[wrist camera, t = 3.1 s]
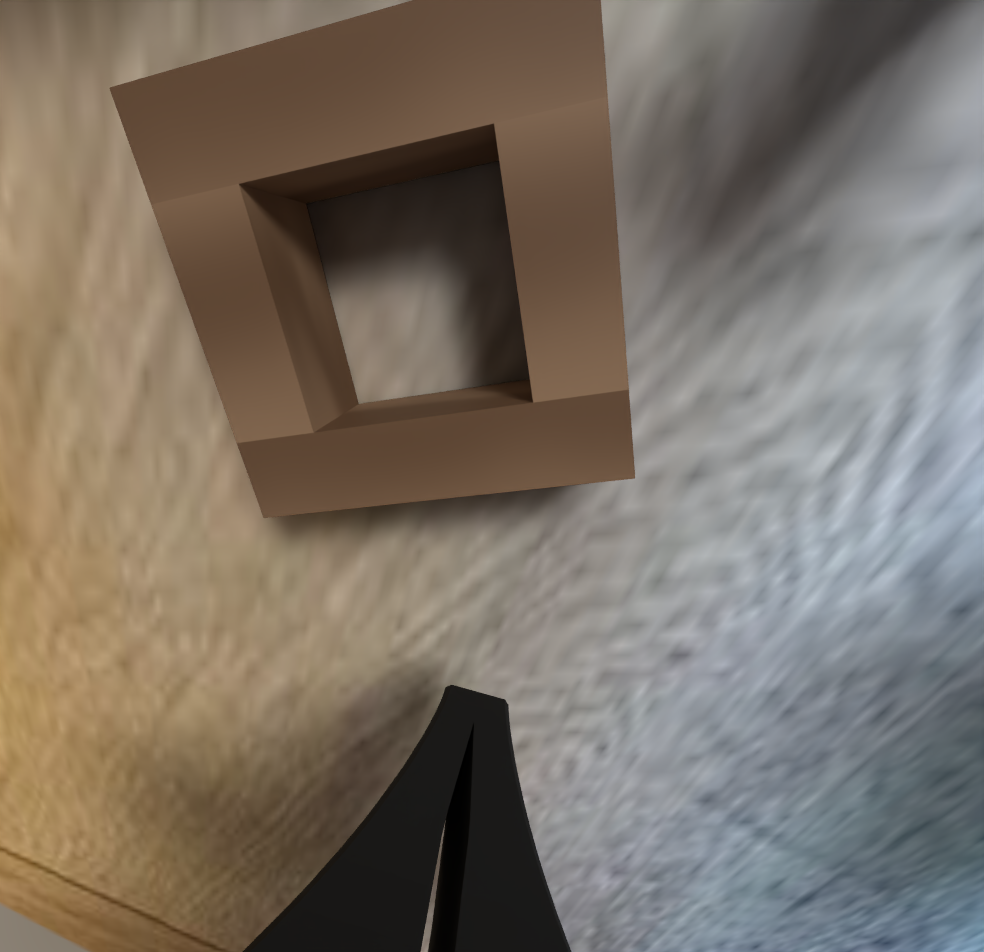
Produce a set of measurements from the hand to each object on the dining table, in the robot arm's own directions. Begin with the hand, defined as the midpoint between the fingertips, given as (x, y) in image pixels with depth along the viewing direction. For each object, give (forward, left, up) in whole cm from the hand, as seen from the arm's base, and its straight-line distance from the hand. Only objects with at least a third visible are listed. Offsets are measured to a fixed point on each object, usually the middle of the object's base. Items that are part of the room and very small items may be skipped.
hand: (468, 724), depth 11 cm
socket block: (+9, 0, -4) cm, 10 cm away
